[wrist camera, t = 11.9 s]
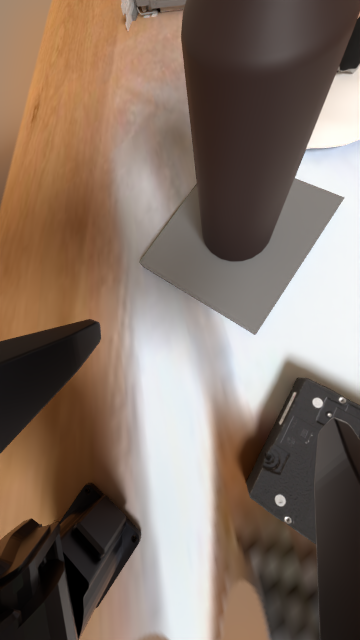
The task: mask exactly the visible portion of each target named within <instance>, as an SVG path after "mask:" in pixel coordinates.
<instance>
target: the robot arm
mask: <svg viewBox="0 0 360 640" xmlns="http://www.w3.org/2000/svg"><path fill="white" fill-rule="evenodd" d="M100 340H101V330H100V324H99V322H97V321H94V320H92V319H88V320H84V321H80V322H76V323H72V324H68V325H64V326H60V327H56V328H52V329H48V330H44V331H40V332H36V333H32V334H28V335H24V336H20V337H16V338H12V339H8V340H4V341H0V453H1V452H2V451H3V450H4V449H5V448H6V447H7V446H8V445H9V444H10V443H11V441H12V440H13V439H14V438H15V437H16V436H17V435H18V434H19V433H20V432H21V431H22V430H23V429H24V428H25V427H26V425H27V424H28V423H29V422H30V421H31V420H32V419H33V418H34V417H35V416H36V415H37V414H38V413H39V412H40V411H41V409H42V408H43V407H44V406H45V405H46V404H47V403H48V402H49V401H50V400H51V399H52V398H53V397H54V396H55V395H56V393H57V392H58V391H59V390H60V389H61V388H62V387H63V386H64V385H65V384H66V383H67V382H68V381H69V380H70V379H71V377H72V376H73V375H74V374H75V373H76V372H77V371H78V370H79V368H80V367H81V366H82V365H83V363H84V362H85V361H86V359H87V358H88V357H89V356H90V354H91V353H92V352H93V350H94V349H95V348H96V346H97V345H98V344H99V342H100ZM88 488H89V489H90V492H89V491H88ZM314 495H315V521H316V547H317V573H318V599H319V625H320V640H360V439H359V437H358V436H357V434H356V433H355V432H354V430H353V429H352V427H351V426H350V425H349V424H348V423H347V422H345V421H342V420H340V419H337V418H331V419H330V420H329V421H328V422H327V423H326V424H325V426H324V427H323V428H322V429H321V430H320V432H319V434H318V441H317V453H316V466H315V480H314ZM133 535H135V536H136V537H137V539H134V538H133ZM140 539H141V533H140V531H139V530H138V529H137V528H136V527H135V526H134V525H133V524H132V523H131V522H130V521H129V520H128V519H127V518H126V516H125V514H124V513H123V512H122V511H121V510H120V509H119V508H118V507H117V506H116V505H115V504H114V503H113V502H112V501H111V500H110V499H109V498H108V497H107V496H105V495H104V494H103V493H102V492H101V491H100V490H99V489H98V488H97V487H96V486H95V485H94V484H93V483H88V484H86V485H85V486H84V487H83V489H82V490H81V492H80V493H79V495H78V496H77V498H76V499H75V501H74V502H73V504H72V505H71V506H70V508H69V509H68V511H67V512H66V514H65V515H64V517H63V518H62V520H61V521H60V523H59V522H55V523H53V524H50V525H47V526H44V527H42V524H38V523H37V522H36V521H34V520H33V519H29V520H26V521H24V522H22V523H21V524H20V525H18V526H17V527H16V528H14V529H13V530H12V531H11V532H9V533H8V534H7V535H6V536H4V537H3V538H2V539H1V540H0V640H79V638H80V636H81V634H82V633H83V631H84V629H85V627H86V625H87V623H88V621H89V619H90V617H91V615H92V614H93V612H94V610H95V608H97V607H98V606H99V604H100V603H101V601H102V600H103V598H104V597H105V595H106V593H107V592H108V590H109V589H110V587H111V586H112V584H113V583H114V581H115V579H116V578H117V576H118V575H119V573H120V572H121V570H122V569H123V567H124V565H125V564H126V562H127V561H128V559H129V558H130V556H131V554H132V553H133V551H134V550H135V548H136V547H137V545H138V544H139V541H140Z"/></svg>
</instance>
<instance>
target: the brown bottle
mask: <svg viewBox="0 0 360 640" xmlns="http://www.w3.org/2000/svg"><path fill="white" fill-rule="evenodd" d="M359 12H360V0H186V3H185V6H184V11H183V19H182V31H181V41H182V50H183V59H184V68H185V78H186V87H187V96H188V105H189V115H190V124H191V133H192V142H193V152H194V161H195V170H196V179H197V188H198V198H199V207H200V216H201V225H202V235H203V239H204V242H205V245H206V246H207V248H208V249H209V250H210V251H211V253H212V254H214V255H215V256H217V257H218V258H220V259H223V260H227V261H230V262H236V261H244V260H248V259H251V258H253V257H255V256H256V255H258V254H259V253H261V252H262V251H263V249H264V248H265V247H266V246H267V244H268V243H269V241H270V238H271V236H272V233H273V231H274V228H275V226H276V223H277V221H278V218H279V216H280V213H281V211H282V208H283V206H284V203H285V201H286V198H287V196H288V193H289V191H290V188H291V186H292V183H293V181H294V178H295V176H296V173H297V170H298V168H299V165H300V163H301V160H302V158H303V155H304V153H305V150H306V148H307V145H308V143H309V140H310V138H311V135H312V133H313V130H314V128H315V125H316V123H317V120H318V118H319V115H320V113H321V110H322V108H323V105H324V103H325V100H326V98H327V95H328V92H329V90H330V87H331V85H332V82H333V80H334V77H335V75H336V72H337V70H338V67H339V65H340V62H341V60H342V57H343V55H344V52H345V50H346V47H347V45H348V42H349V40H350V37H351V35H352V32H353V30H354V27H355V24H356V21H357V18H358V15H359Z"/></svg>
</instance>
